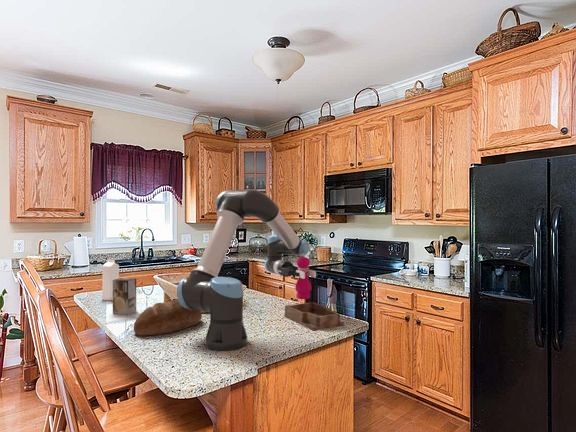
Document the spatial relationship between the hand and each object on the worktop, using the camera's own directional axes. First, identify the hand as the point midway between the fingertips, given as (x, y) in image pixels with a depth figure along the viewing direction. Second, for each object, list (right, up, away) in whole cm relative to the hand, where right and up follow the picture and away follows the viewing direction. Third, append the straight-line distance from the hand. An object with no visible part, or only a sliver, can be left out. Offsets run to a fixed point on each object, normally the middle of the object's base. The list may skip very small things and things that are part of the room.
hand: (309, 274), depth 161 cm
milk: (-109, -21, +44) cm, 119 cm away
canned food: (-70, -21, +31) cm, 80 cm away
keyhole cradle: (+2, -21, +3) cm, 21 cm away
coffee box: (-88, -21, +16) cm, 92 cm away
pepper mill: (-3, -11, +5) cm, 12 cm away
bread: (-59, -21, -8) cm, 63 cm away
